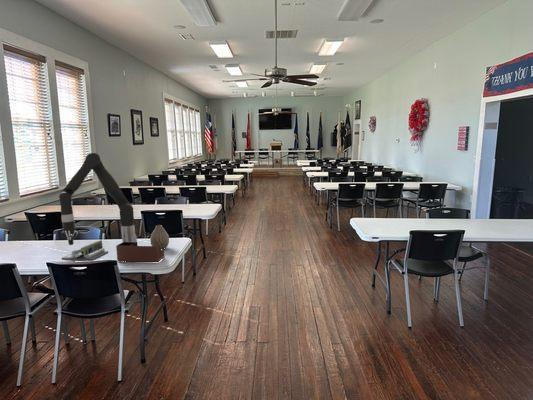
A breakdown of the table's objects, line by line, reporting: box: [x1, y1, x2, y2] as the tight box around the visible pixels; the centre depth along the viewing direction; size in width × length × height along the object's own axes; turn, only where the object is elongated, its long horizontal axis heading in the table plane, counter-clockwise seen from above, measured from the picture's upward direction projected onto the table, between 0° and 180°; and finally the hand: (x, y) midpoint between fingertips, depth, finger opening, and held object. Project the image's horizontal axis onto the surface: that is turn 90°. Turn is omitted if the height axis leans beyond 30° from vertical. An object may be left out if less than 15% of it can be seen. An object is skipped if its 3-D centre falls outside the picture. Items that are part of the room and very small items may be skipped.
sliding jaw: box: [71, 244, 88, 258], centre depth 249 cm, size 6×16×4 cm, turn 171°
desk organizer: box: [115, 241, 165, 263], centre depth 237 cm, size 10×29×11 cm, turn 83°
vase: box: [149, 224, 170, 250], centre depth 261 cm, size 13×13×18 cm
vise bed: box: [61, 247, 109, 261], centre depth 249 cm, size 22×18×3 cm
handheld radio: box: [77, 240, 104, 259], centre depth 248 cm, size 7×3×25 cm
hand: (71, 244), depth 250 cm, fingers closed
